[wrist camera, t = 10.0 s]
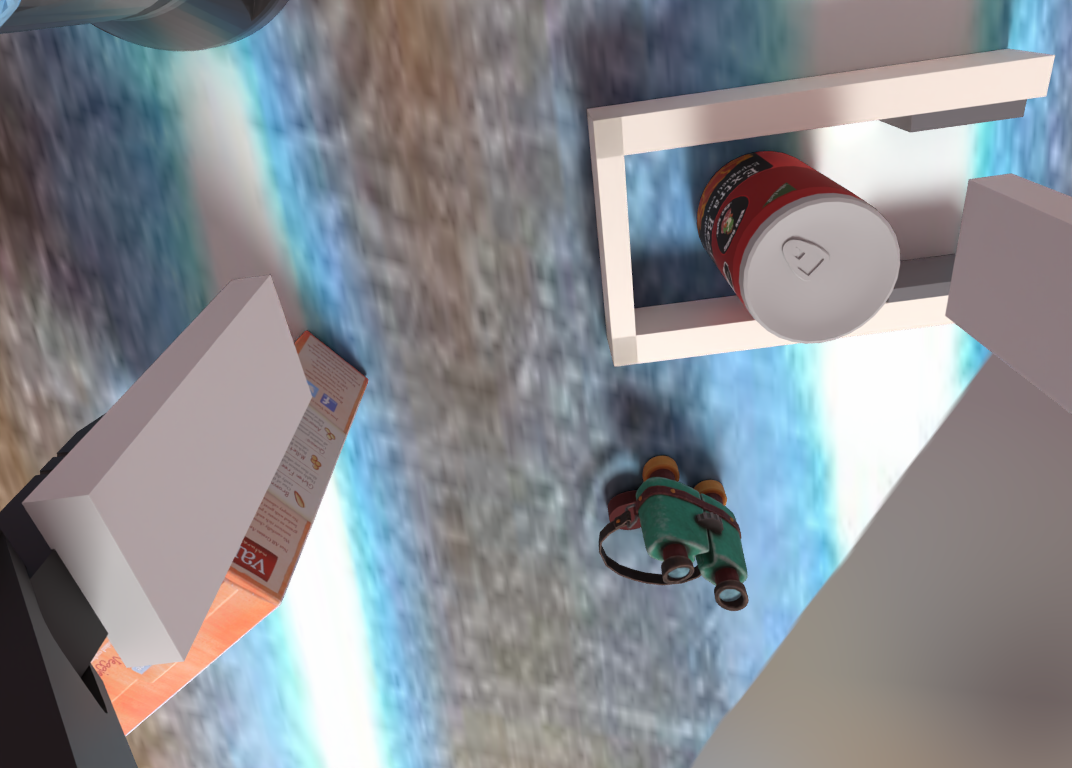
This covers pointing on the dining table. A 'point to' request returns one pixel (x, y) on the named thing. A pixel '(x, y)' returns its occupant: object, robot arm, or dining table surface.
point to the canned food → (797, 247)
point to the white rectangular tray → (772, 108)
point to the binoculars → (682, 532)
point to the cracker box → (255, 541)
